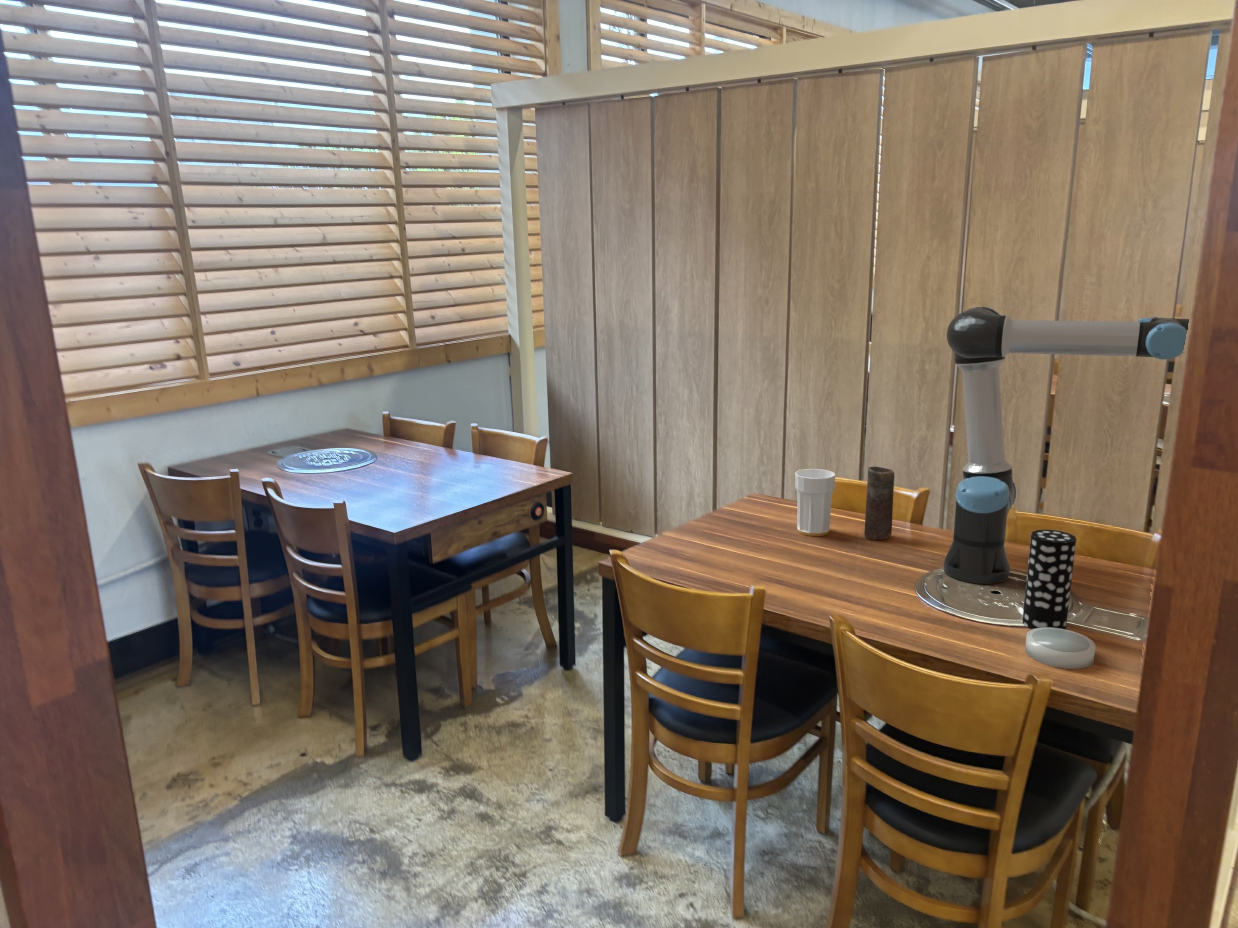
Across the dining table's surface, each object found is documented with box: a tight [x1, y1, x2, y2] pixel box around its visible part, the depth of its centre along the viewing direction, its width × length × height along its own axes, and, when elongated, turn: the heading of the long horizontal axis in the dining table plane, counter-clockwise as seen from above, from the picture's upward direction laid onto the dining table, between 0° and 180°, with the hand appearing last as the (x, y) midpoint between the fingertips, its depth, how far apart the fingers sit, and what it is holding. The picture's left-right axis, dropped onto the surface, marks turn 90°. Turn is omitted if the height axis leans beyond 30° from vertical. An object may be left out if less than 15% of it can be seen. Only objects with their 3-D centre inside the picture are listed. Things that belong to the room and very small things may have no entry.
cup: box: [794, 468, 836, 537], centre depth 238 cm, size 11×11×17 cm
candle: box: [863, 466, 895, 541], centre depth 232 cm, size 8×7×20 cm
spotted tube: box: [1022, 529, 1077, 630], centre depth 174 cm, size 8×8×20 cm
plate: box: [1024, 627, 1096, 670], centre depth 163 cm, size 12×12×3 cm
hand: (1195, 472), depth 189 cm, fingers open, 13 cm apart
